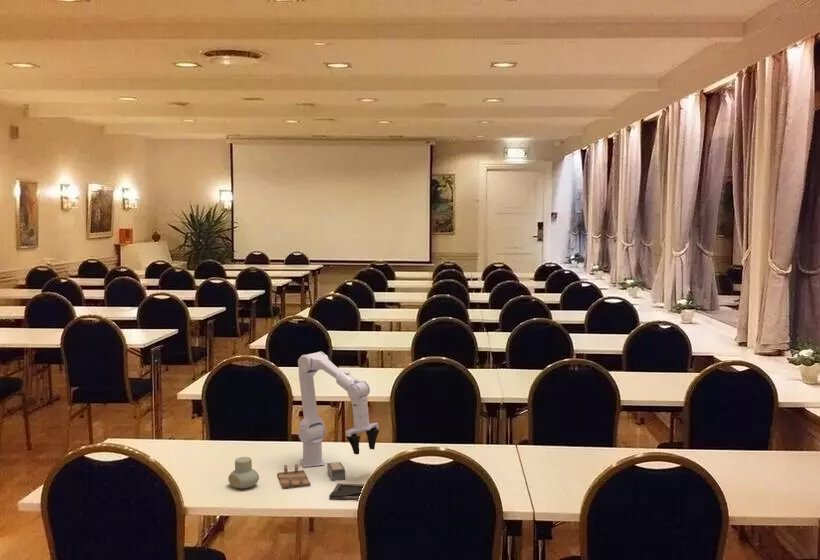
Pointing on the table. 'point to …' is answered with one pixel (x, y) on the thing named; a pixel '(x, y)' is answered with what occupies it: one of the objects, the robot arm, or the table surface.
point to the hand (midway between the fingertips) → (364, 451)
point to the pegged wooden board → (293, 478)
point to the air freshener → (243, 474)
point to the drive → (336, 471)
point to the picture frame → (346, 492)
